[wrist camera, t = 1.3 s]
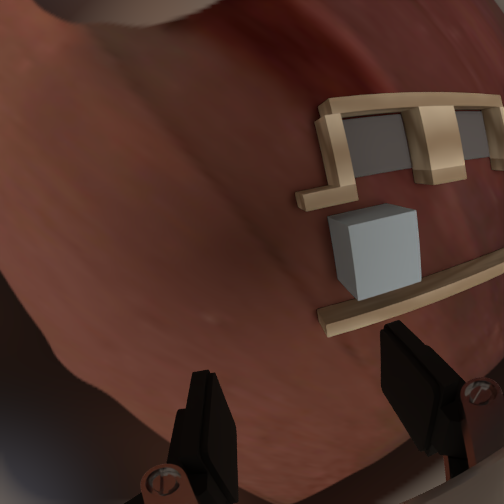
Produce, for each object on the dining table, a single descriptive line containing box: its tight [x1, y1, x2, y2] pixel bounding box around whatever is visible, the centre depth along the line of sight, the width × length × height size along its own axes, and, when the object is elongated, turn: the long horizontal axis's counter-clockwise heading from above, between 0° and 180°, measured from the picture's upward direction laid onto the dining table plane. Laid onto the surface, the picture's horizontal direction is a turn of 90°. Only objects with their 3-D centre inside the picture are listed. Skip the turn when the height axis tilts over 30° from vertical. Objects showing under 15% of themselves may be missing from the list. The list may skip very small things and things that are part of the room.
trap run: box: [295, 92, 504, 337], centre depth 23 cm, size 18×28×3 cm, turn 103°
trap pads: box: [342, 111, 490, 178], centre depth 23 cm, size 5×18×1 cm, turn 103°
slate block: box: [327, 203, 421, 301], centre depth 23 cm, size 6×6×5 cm
